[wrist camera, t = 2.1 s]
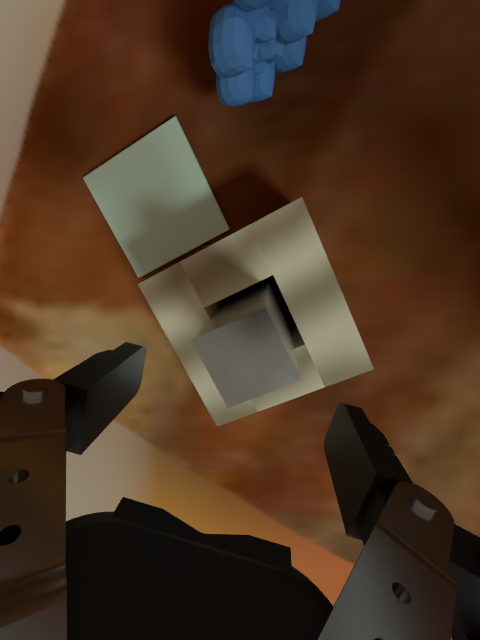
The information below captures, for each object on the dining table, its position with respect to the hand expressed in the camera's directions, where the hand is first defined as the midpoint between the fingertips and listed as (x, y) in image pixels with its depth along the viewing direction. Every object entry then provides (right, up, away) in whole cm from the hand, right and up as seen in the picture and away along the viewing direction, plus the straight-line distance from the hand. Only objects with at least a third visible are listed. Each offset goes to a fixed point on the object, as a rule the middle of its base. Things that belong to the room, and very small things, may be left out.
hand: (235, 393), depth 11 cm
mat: (-7, +14, +14) cm, 21 cm away
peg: (+2, +4, +15) cm, 16 cm away
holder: (+2, +4, +15) cm, 16 cm away
